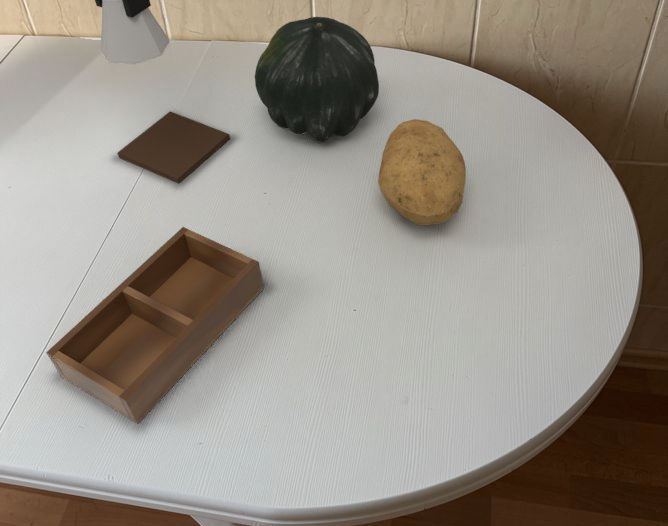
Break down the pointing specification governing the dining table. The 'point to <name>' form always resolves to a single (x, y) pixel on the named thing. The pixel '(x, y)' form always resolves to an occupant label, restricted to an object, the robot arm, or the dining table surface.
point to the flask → (130, 35)
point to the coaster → (174, 146)
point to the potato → (422, 173)
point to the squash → (317, 77)
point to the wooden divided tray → (157, 323)
